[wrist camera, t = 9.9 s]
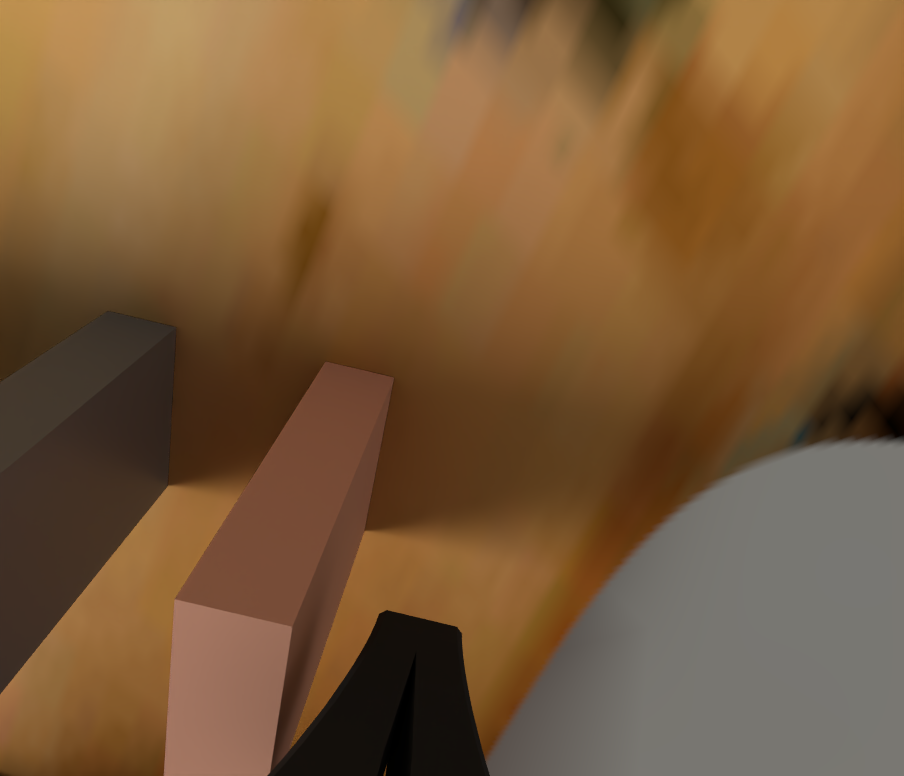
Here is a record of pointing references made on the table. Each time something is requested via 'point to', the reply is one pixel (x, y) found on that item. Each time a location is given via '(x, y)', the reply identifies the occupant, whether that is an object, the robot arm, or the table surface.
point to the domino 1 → (77, 468)
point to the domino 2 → (274, 583)
